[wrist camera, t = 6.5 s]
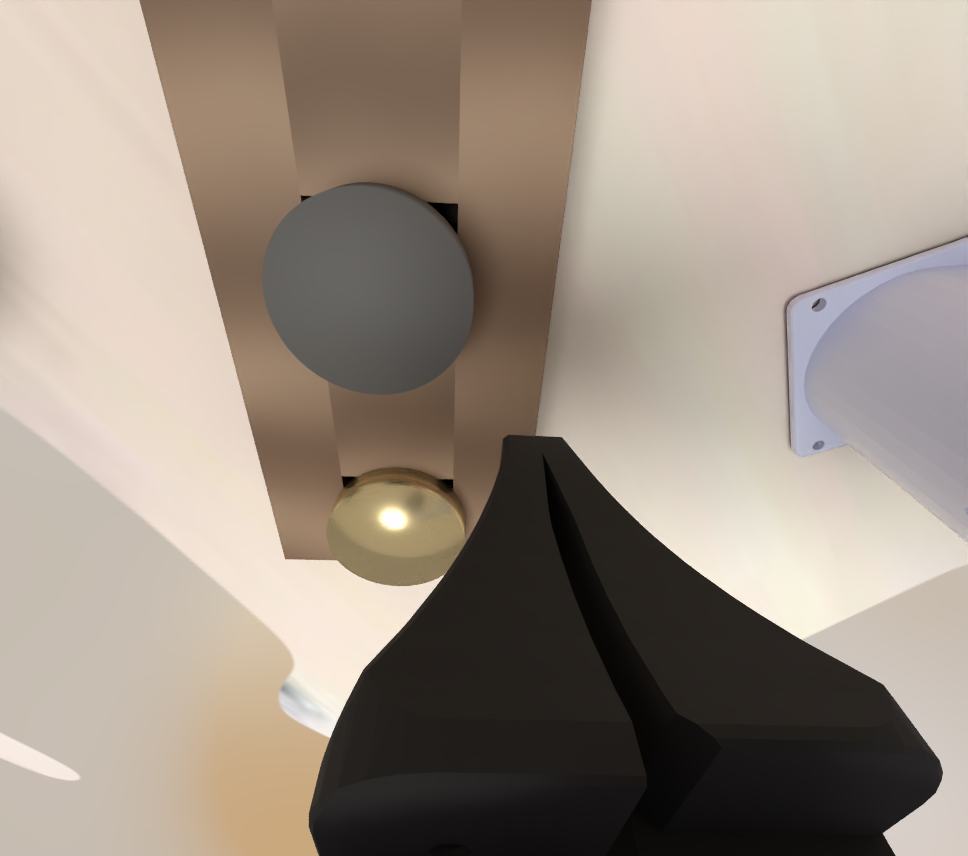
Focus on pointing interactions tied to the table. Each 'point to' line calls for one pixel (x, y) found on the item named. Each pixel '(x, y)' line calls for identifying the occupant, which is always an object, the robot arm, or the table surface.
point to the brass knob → (396, 526)
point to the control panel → (387, 160)
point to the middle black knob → (369, 288)
